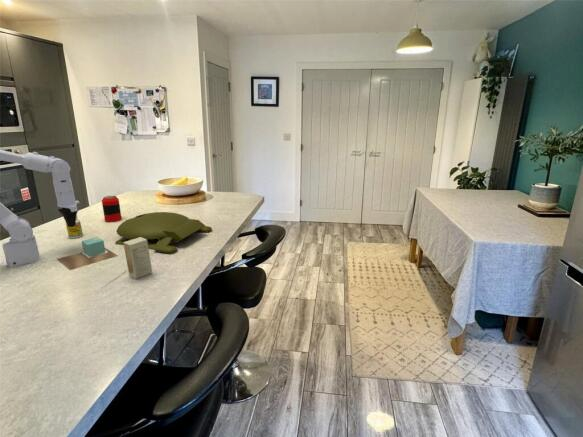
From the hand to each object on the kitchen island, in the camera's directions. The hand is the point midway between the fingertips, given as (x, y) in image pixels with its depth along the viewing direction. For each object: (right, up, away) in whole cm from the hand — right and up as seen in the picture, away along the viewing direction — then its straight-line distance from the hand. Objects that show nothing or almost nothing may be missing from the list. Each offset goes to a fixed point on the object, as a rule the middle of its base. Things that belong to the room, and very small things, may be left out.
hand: (71, 226), depth 129 cm
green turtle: (+27, -6, +19) cm, 33 cm away
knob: (+9, -10, -1) cm, 14 cm away
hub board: (+9, -12, -4) cm, 16 cm away
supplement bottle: (-11, -5, +19) cm, 23 cm away
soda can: (-6, +2, +42) cm, 42 cm away
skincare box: (+33, -16, -15) cm, 40 cm away
